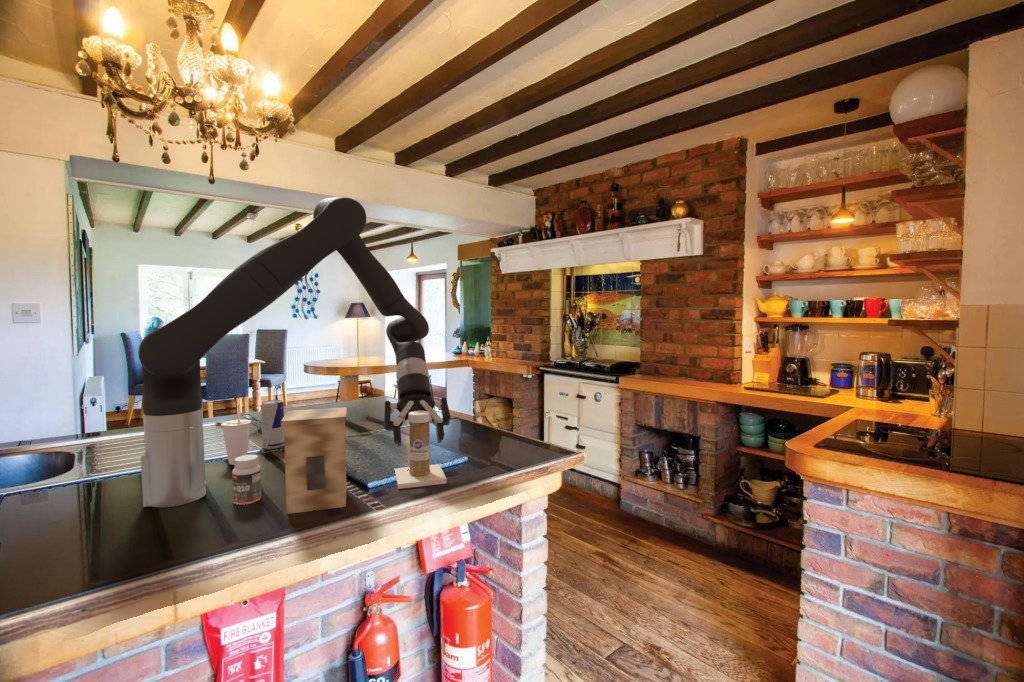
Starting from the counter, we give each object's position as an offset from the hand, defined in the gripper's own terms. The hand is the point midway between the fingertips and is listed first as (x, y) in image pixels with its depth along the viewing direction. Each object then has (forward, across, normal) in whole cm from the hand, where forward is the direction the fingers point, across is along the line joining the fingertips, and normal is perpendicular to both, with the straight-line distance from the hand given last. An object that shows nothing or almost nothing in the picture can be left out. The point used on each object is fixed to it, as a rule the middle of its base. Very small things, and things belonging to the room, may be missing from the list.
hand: (420, 442), depth 102 cm
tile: (+5, 0, +7) cm, 8 cm away
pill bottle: (+6, -33, +6) cm, 34 cm away
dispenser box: (+10, -20, +2) cm, 22 cm away
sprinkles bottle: (+4, 0, +6) cm, 8 cm away
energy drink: (-21, -34, +32) cm, 51 cm away
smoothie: (-12, -40, +24) cm, 48 cm away
